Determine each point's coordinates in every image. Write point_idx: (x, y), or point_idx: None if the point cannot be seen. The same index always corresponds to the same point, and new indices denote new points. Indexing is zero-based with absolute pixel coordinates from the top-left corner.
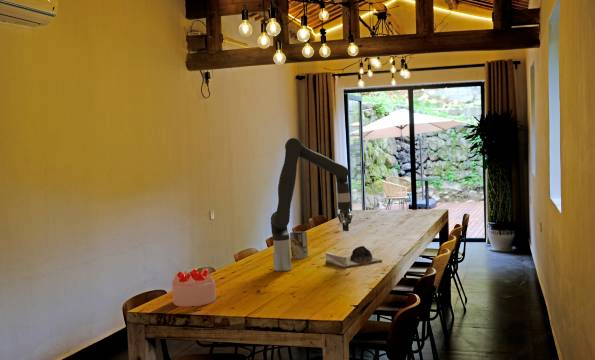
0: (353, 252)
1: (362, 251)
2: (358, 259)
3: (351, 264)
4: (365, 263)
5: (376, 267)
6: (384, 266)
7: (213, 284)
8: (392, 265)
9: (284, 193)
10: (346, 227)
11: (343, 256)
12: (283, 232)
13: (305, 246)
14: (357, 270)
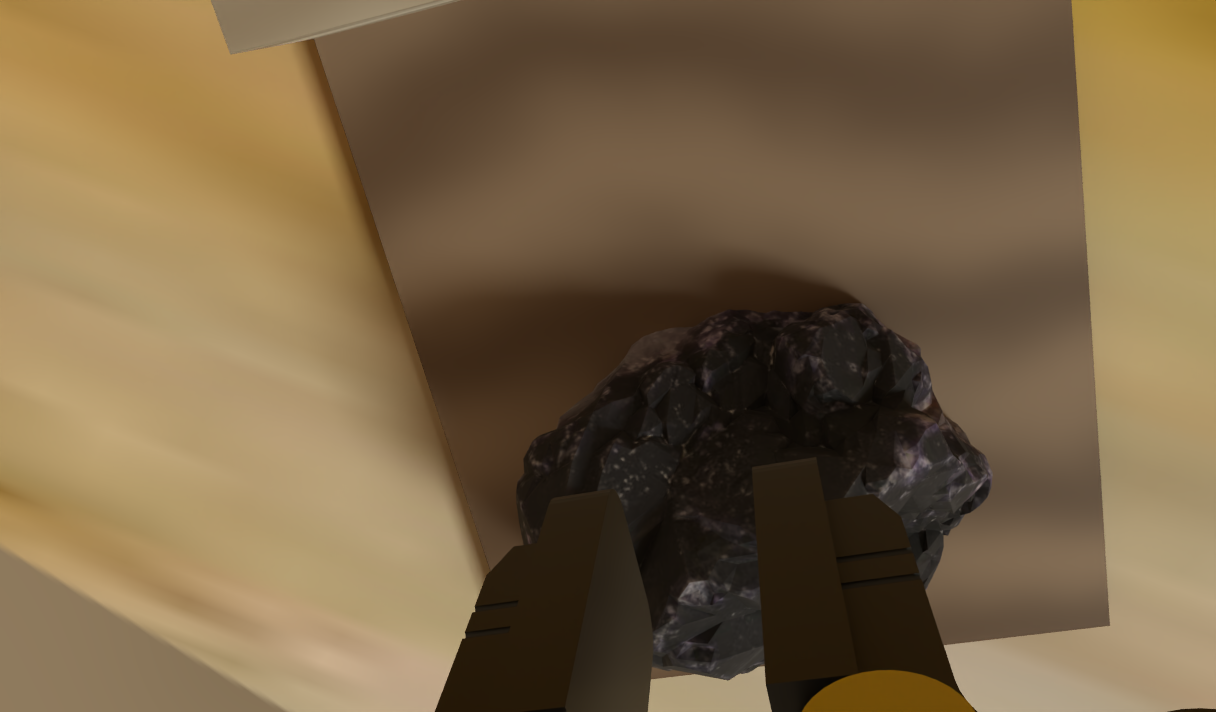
0: (844, 424)
1: (522, 524)
2: (605, 384)
3: (403, 161)
4: (445, 415)
5: (162, 454)
6: (188, 565)
7: None
8: (211, 666)
9: None
10: (459, 648)
11: (318, 10)
12: None
13: None
14: (39, 122)
